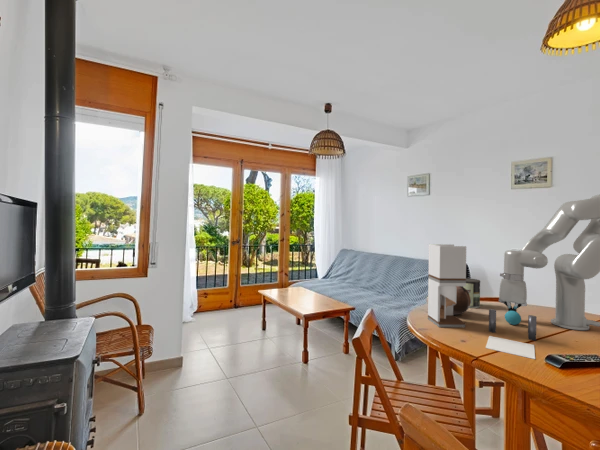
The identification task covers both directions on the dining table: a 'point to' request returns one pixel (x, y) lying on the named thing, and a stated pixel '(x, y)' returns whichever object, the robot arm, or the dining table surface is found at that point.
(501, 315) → the dining table surface
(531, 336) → the right post
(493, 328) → the left post
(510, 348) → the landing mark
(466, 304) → the wooden sphere
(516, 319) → the ball
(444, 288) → the white tower on base
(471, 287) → the coffee can
